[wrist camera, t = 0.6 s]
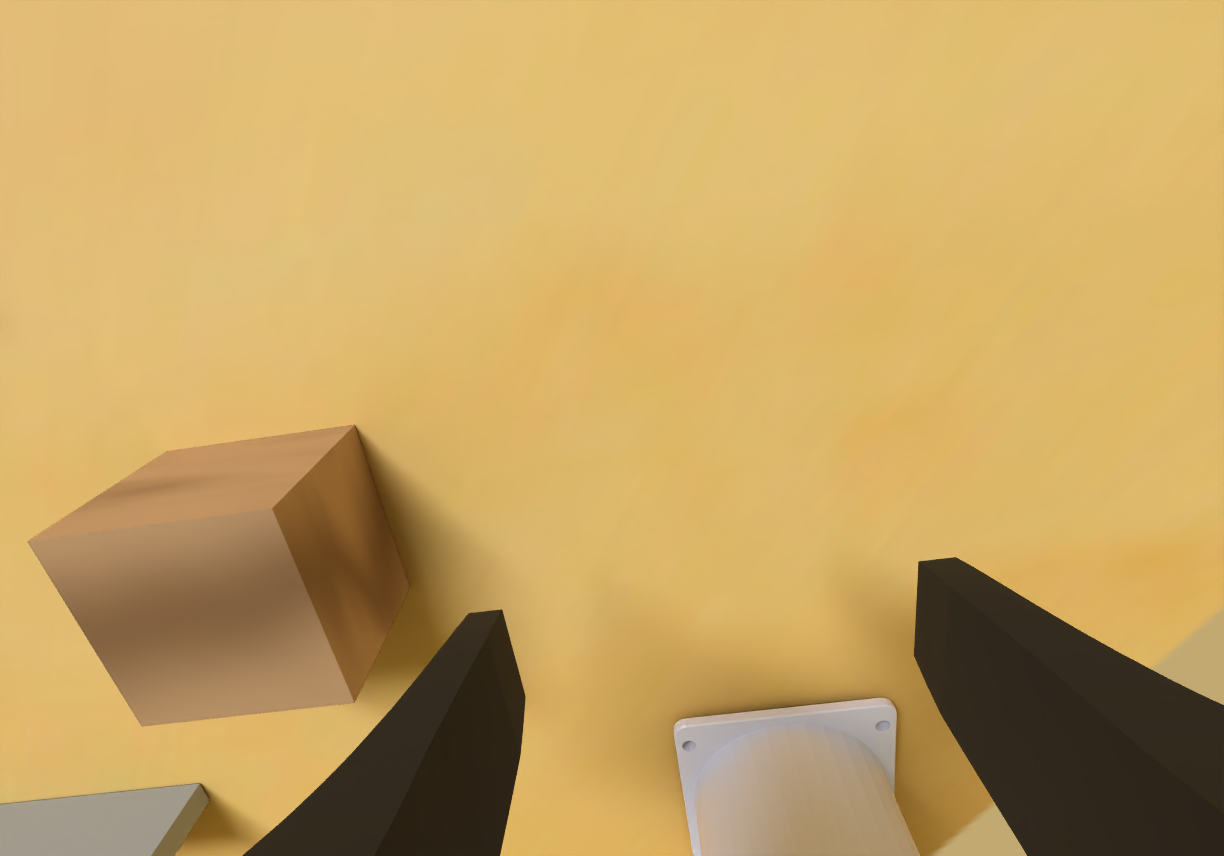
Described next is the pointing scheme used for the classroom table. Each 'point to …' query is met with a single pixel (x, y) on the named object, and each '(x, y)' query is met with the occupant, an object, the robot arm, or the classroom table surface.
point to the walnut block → (234, 577)
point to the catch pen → (103, 823)
